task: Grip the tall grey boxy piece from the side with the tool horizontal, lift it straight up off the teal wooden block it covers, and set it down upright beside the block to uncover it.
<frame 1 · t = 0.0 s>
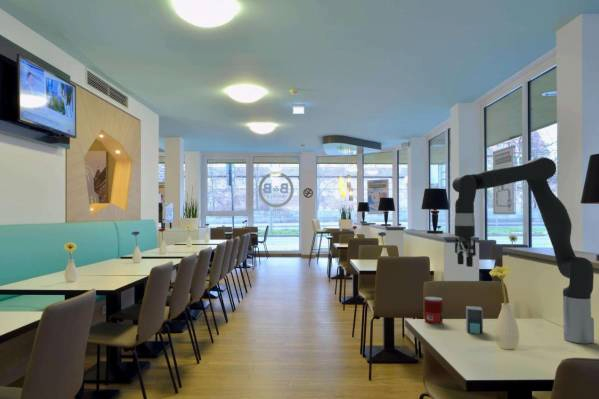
hand: (464, 265, 164), 29 cm above the table, tool pointing down, fingers open, 8 cm apart
grey boxy piece: (474, 331, 175), on the table
teal block: (474, 327, 175), in the grey boxy piece
canned food: (433, 322, 191), on the table
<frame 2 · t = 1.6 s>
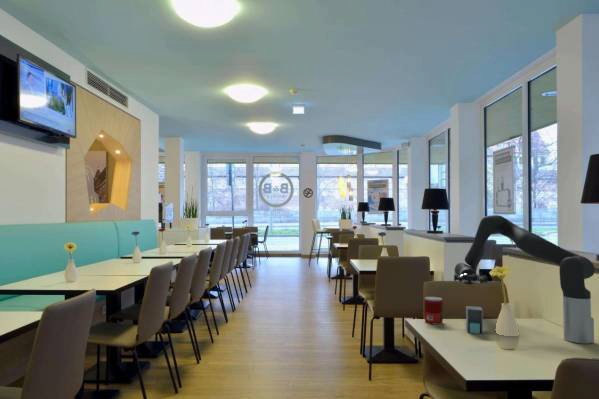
hand: (471, 280, 186), 20 cm above the table, tool horizontal, fingers open, 8 cm apart
nothing on the table moved.
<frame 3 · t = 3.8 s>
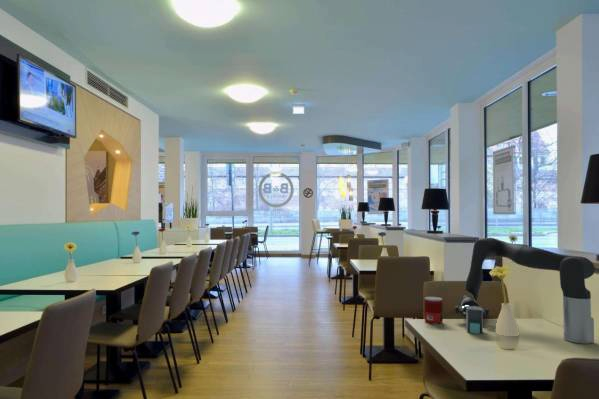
hand: (472, 313, 183), 6 cm above the table, tool horizontal, fingers open, 8 cm apart
nothing on the table moved.
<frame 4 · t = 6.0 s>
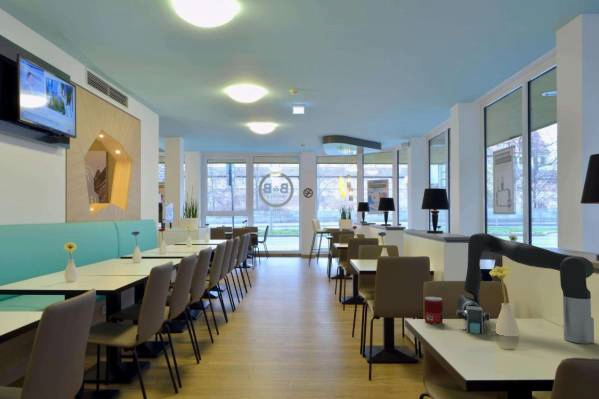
hand: (474, 318, 173), 6 cm above the table, tool horizontal, fingers closed on grey boxy piece, 6 cm apart
grey boxy piece: (474, 331, 175), on the table, touching gripper
everything else where it was.
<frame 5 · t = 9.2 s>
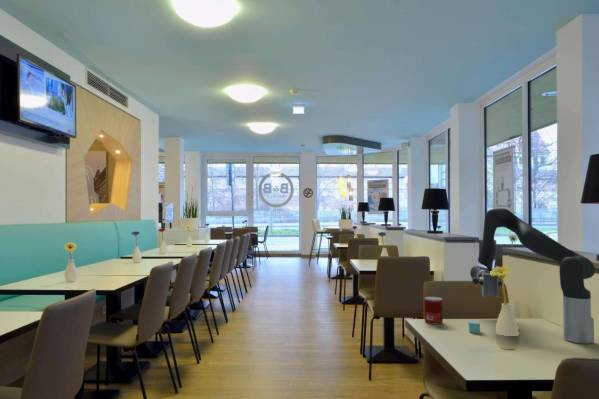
hand: (490, 283, 180), 20 cm above the table, tool horizontal, fingers closed on grey boxy piece, 6 cm apart
grey boxy piece: (489, 296, 182), point 14 cm above the table, touching gripper
everything else where it was.
when the fingers open (7 cm above the table, at t = 12.2 s): grey boxy piece drops 1 cm, on the table.
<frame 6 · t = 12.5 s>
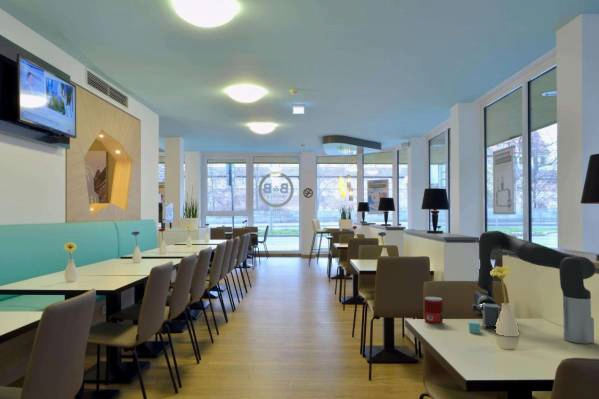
hand: (491, 311, 180), 8 cm above the table, tool horizontal, fingers open, 8 cm apart
grey boxy piece: (491, 328, 181), on the table
everything else where it was.
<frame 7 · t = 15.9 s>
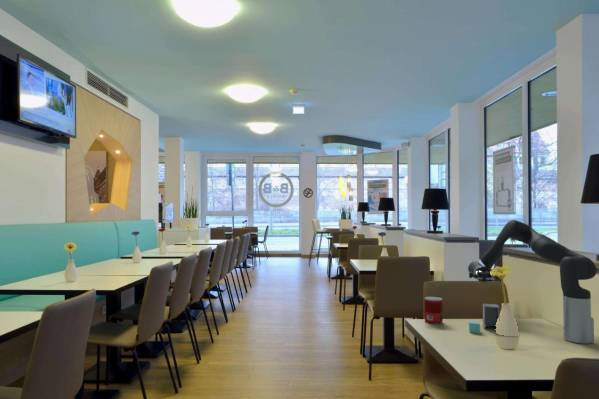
hand: (486, 277, 192), 21 cm above the table, tool horizontal, fingers open, 8 cm apart
nothing on the table moved.
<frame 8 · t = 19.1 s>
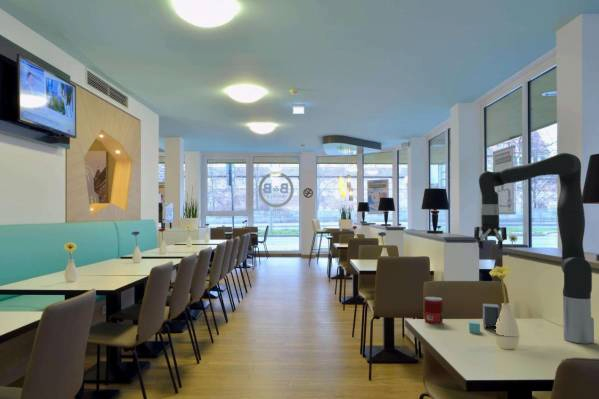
hand: (490, 249, 191), 34 cm above the table, tool pointing down, fingers open, 8 cm apart
nothing on the table moved.
at the end: grey boxy piece moved 11.7 cm from its start; grey boxy piece tilted 0°; teal block moved 0.1 cm from its start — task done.
